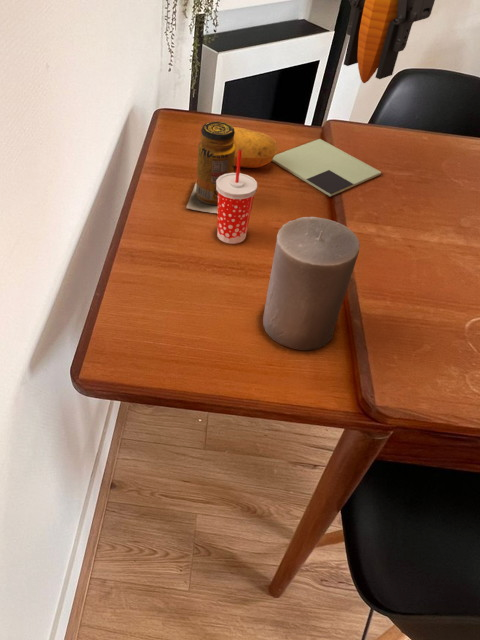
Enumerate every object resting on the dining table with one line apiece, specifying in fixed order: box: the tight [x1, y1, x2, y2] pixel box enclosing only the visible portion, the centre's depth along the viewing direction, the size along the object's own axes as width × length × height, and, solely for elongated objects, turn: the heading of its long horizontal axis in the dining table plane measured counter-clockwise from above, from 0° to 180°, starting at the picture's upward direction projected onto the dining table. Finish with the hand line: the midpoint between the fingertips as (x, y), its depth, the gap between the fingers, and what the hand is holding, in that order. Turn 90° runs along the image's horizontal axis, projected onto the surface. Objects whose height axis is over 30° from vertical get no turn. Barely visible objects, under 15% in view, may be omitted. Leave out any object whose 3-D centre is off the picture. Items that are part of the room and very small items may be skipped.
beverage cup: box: [216, 149, 258, 245], centre depth 79 cm, size 6×6×14 cm
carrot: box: [357, 0, 398, 84], centre depth 69 cm, size 5×5×15 cm
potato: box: [233, 126, 279, 169], centre depth 97 cm, size 8×14×7 cm, turn 67°
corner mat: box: [271, 138, 382, 197], centre depth 100 cm, size 16×14×1 cm
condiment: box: [185, 120, 235, 214], centre depth 86 cm, size 7×8×12 cm
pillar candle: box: [262, 216, 361, 351], centre depth 66 cm, size 10×10×15 cm
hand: (367, 69), depth 73 cm, fingers closed on carrot, 5 cm apart
